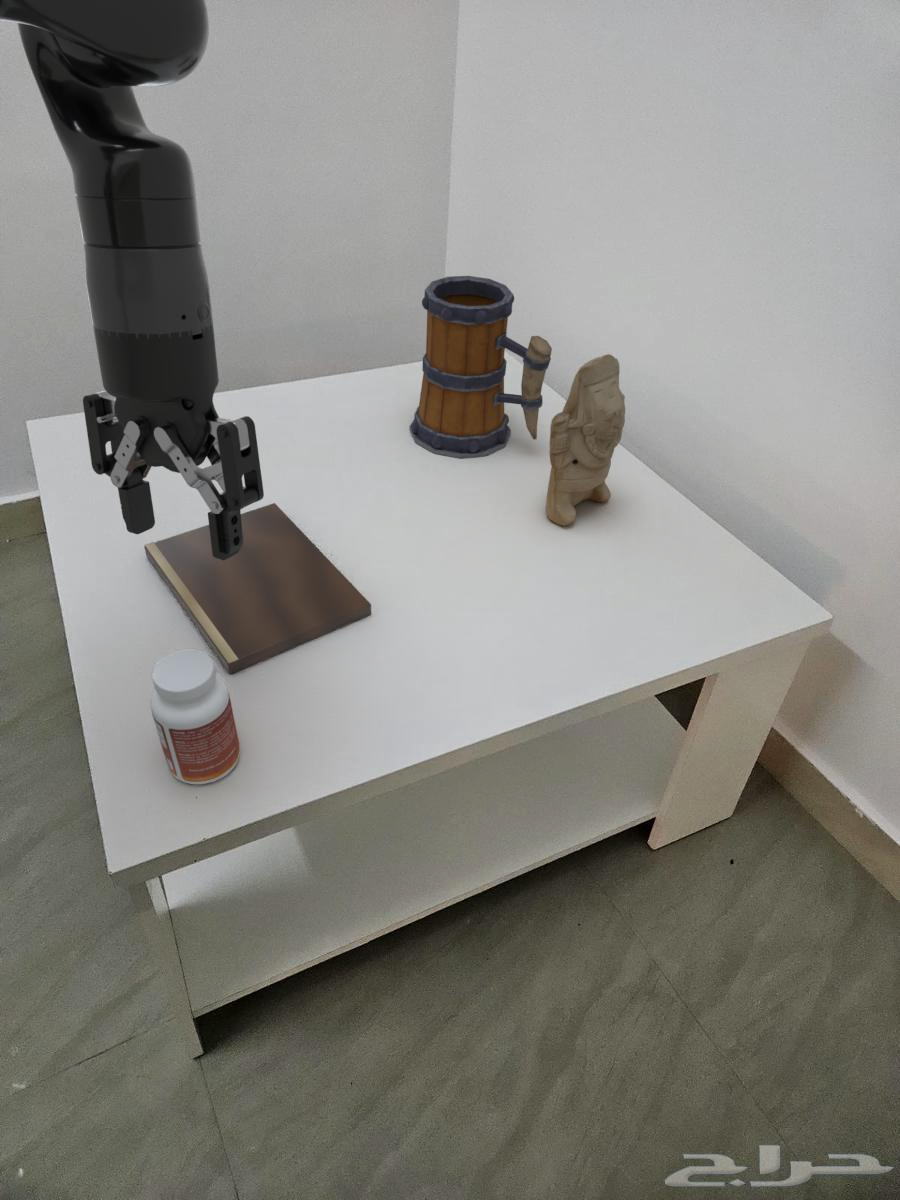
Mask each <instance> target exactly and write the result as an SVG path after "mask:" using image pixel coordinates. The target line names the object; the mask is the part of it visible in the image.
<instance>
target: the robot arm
mask: <svg viewBox="0 0 900 1200" xmlns="http://www.w3.org/2000/svg"><path fill="white" fill-rule="evenodd" d="M209 20H210V19H209V14H208V9H207V4H206V0H0V22H5V23H16V24H17V28H18V33H19V36H20V40H21V44H22V47H23V50H24V53H25V56H26V59H27V62H28V65H29V67H30V70H31V73H32V76H33V77H34V80H35V82H36V85H37V88H38V90H39V93H40V96H41V98H42V100H43V103H44V105H45V108H46V112H47V113H48V116H49V119H50V121H51V124H52V127H53V130H54V132H55V134H56V136H57V139H58V141H59V144H60V146H61V147H62V149H63V151H64V154H65V156H66V159H67V161H68V163H69V164H68V165H69V166H70V169H71V173H72V178H73V185H74V187H73V188H74V194H75V201H76V207H77V215H78V219H79V220H78V221H79V225H80V232H81V237H82V242H83V250H84V251H83V252H84V273H85V276H84V277H85V285H86V292H87V299H88V305H89V310H90V317H91V322H92V328H93V334H94V341H95V346H96V347H95V348H96V352H97V358H98V365H99V371H100V376H101V382H102V387H103V389H104V390H102V391H98V392H93V393H90V394H87V395H83V398H82V405H83V406H82V407H83V412H84V413H83V414H84V419H85V426H86V427H85V428H86V434H87V441H88V448H89V455H90V461H91V466H92V470H93V471H94V472H95V473H96V474H97V475H99V476H100V475H101V476H102V475H106V476H108V477H109V478H110V481H111V483H112V484H113V486H114V487H116V488H117V491H118V492H117V493H118V498H119V503H120V508H121V509H120V510H121V515H122V519H123V521H124V522H125V526H126V531H127V532H128V533H131V534H135V535H140V534H142V533H144V532H145V533H146V532H147V531H149V530H152V529H153V528H154V527H155V524H156V518H155V513H154V512H155V511H154V505H153V498H152V492H151V485H150V481H148V480H144V479H146V478H147V476H148V474H149V472H150V471H151V469H152V467H153V468H158V467H163V468H165V469H167V470H169V471H170V472H174V473H178V474H180V475H181V476H182V478H183V480H184V481H185V483H186V484H187V486H189V487H190V488H192V489H195V490H197V491H198V493H199V495H200V496H201V497H202V498H201V499H203V501H204V503H205V504H206V505H207V507H208V509H209V511H208V512H207V519H208V525H209V529H210V538H211V546H212V554H213V557H214V558H216V559H220V560H226V559H228V558H230V557H232V556H234V555H235V554H237V553H238V552H239V550H240V548H242V545H243V535H242V534H243V533H242V522H241V514H242V512H241V510H243V509H244V508H246V507H249V506H250V505H252V504H254V503H257V502H259V501H261V500H263V498H264V496H265V493H264V486H263V485H264V484H263V478H262V477H263V476H262V470H261V464H260V463H261V462H260V455H259V446H258V439H257V431H256V424H255V421H254V420H253V418H251V417H250V416H247V415H245V416H242V417H238V418H234V419H231V418H222V417H219V414H218V412H217V410H216V407H215V404H214V395H215V391H216V389H217V387H218V385H219V381H220V378H219V367H218V358H217V349H216V340H215V330H214V320H213V309H212V300H211V290H210V282H209V277H208V272H207V268H206V267H207V266H206V263H205V259H204V255H203V249H202V244H200V243H201V234H200V225H199V224H200V223H199V216H198V215H199V213H198V205H197V203H198V202H197V198H196V197H197V193H196V183H195V176H194V170H193V166H192V163H191V159H190V157H189V155H188V153H187V151H186V150H185V149H184V147H182V146H181V145H180V144H179V143H178V142H175V141H173V140H171V139H169V138H167V137H164V136H162V135H159V134H156V133H154V132H152V130H150V129H149V128H148V126H147V124H146V121H145V119H144V117H143V114H142V112H141V109H140V106H139V104H138V101H137V98H136V96H135V92H134V88H133V87H163V86H167V85H171V84H175V83H178V82H180V81H182V80H183V79H185V78H187V77H188V76H189V75H190V74H192V73H193V72H194V71H195V70H196V68H197V67H198V66H199V64H200V63H201V61H202V60H203V57H204V55H205V53H206V49H207V47H208V42H209V34H210V23H209V22H210V21H209ZM109 442H110V449H111V453H108V454H107V443H109ZM206 459H208V461H209V462H210V465H209V466H206V467H205V468H201V467H199V466H200V465H202V464H203V463H204V461H205V460H206ZM213 481H216V482H217V484H218V486H219V487H220V489H221V490H222V492H221V493H220V491H219V490H218V488H217V487H216V485H215V484H214V482H213ZM243 481H244V483H243Z"/></svg>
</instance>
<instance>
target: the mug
mask: <svg viewBox="0 0 900 1200" xmlns="http://www.w3.org/2000/svg"><path fill="white" fill-rule="evenodd" d="M514 301H515V296H514V293H513V292H512V291H511V290H510V289H509V287H508V286H507V285H506V284H504V283H501V282H499V281H496V280H494V279H491V278H487V277H479V276H474V275H456V276H455V275H454V276H453V275H451V276H446V277H445V276H444V277H442V278H438V279H435V280H432V281H431V282H430V283H429V284H428V285H427V286H426V288H425V289H424V297H423V298H422V300H421V306H422V308H423V309H424V310H426V341H425V354H424V355H423V356H422V370H421V371H422V373H423V374H422V382H421V389H420V396H419V401H418V402H419V403H418V406H417V408H416V411H415V412H414V413H413V415H414V416H413V420H412V422H411V423H410V425H408V426H409V430H408V431H409V432H410V434H411V437H412V439H413V441H414V443H415V444H416V445H418V446H420V447H421V448H423V449H425V450H426V451H429V452H430V453H432V454H435V455H440V456H445V457H450V458H456V459H469V458H478V457H479V458H480V457H488V456H490V455H492V454H494V453H496V452H498V451H500V450H501V449H504V448H505V447H506V446H507V444H508V441H509V439H510V437H511V435H512V430H511V428H510V427H509V425H508V424H509V422H510V418H509V417H510V416H509V415H508V414H506V413H505V404H514V405H520V407H521V408H522V412H523V416H524V419H525V420H524V421H525V425H526V426H525V427H526V428H527V431H528V433H529V434H530V436H531V438H532V440H537V439H538V438H537V437H538V423H539V421H538V420H539V411H540V408H542V407H543V403H544V402H543V395H542V388H543V384H544V380H545V377H546V373H547V370H548V368H549V366H550V362H551V359H552V358H551V355H552V351H553V348H552V346H551V345H550V343H549V341H548V340H546V339H545V338H543V337H541V336H540V335H531V336H530V339H529V343H528V345H527V347H525V346H524V345H522V344H520V343H518V342H517V341H515V340H513V339H512V338H510V337H508V336H507V335H508V330H507V329H508V319H509V317H510V316H511V315H512V314H513V313H512V312H513V303H514ZM505 350H508V351H509V352H512V353H513V354H516V355H517V356H518V357H521V358H522V362H523V365H522V367H523V368H522V373H521V374H522V376H521V382H520V383H521V384H520V390H521V394H513V393H505V376H506V371H507V360H506V358H505V352H506V351H505Z"/></svg>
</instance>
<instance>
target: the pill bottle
mask: <svg viewBox="0 0 900 1200" xmlns="http://www.w3.org/2000/svg"><path fill="white" fill-rule="evenodd" d="M151 674H152V683H153V686H154V687H153V689H152V690H151V693H150V697H149V698H150V699H149V708H150V712H151V715H152V718H153V722H154V725H155V729H156V732H157V735H158V739H159V742H160V746H161V750H162V752H163V755H164V758H165V762H166V765H167V767H168V770H169V772H170V773H171V775H172V776H173V777H174V778H175V779H177V780H178V781H180V782H183V783H185V784H191V785H206V784H211V783H213V782H216V781H219V780H221V779H222V778H224V777H225V776H227V775H228V774H229V773H230V772H231V771H232V770H233V769H234V768H235V767H236V765H237V763H238V761H239V759H240V754H241V745H240V741H239V735H238V730H237V726H236V721H235V716H234V711H233V706H232V701H231V700H232V699H231V695H230V691H229V687H228V684H227V682H226V680H225V679H224V678H223V677H222V676H221V675H220V674H219V673H218V672H217V671H216V668H215V664H214V661H213V659H212V658H211V656H210V655H209V654H207V653H206V652H204V651H202V650H198V649H193V648H192V649H190V648H188V649H179V650H175V651H173V652H170V653H167V654H166V655H165V656H163V657H161V658H160V659H159V660H158V661H157V663H155V666H154V667H153V670H152V673H151Z"/></svg>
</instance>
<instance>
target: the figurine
mask: <svg viewBox="0 0 900 1200" xmlns="http://www.w3.org/2000/svg"><path fill="white" fill-rule="evenodd" d="M621 390H622V389H620V362H619V360H618V358H616V357H614V355H612V354H609V353H608V354H607V353H606V354H604V355H602V356H597V357H595V358H592V359H590V360H588V361H587V362H585V363H584V364H583V365H582V366H580V367H579V368H578V370H577V372H576V374H575V376H574V378H573V380H572V383H571V386H570V391H569V394H568V396H567V399H566V401H565V404H564V406H563V408H562V411H561V412H558V413H557V414H555V415H554V416H553V418H552V419H551V422H550V426H549V427H550V429H549V463H550V466H551V468H550V472H549V479H548V486H547V491H546V503H545V512H546V516H547V518H548V520H550V521H551V522H553V523H555V524H557V525H559V526H563V527H565V526H568V525H571V524H573V523H574V521H575V520H576V517H577V510H576V508H575V506H576V505H578V504H580V502H584V501H587V500H591V501H594V502H597V503H605V502H608V501H609V500H610V499H611V496H612V493H611V491H610V488H609V487H608V486H607V483H606V479H607V477H608V475H609V473H610V470H611V465H612V458H613V456H614V455H613V454H614V451H615V448H616V447H617V446H618V445H619V444H620V442H621V440H622V435H623V428H624V426H625V421H626V404H625V403H626V402H625V400H626V399H625V398H626V397H625V394H624V393H622V391H621Z"/></svg>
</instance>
